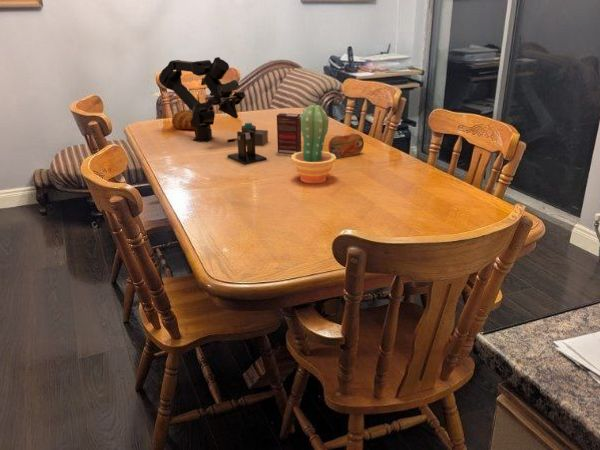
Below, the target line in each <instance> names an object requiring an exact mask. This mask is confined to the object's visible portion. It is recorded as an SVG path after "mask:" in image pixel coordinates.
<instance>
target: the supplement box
mask: <svg viewBox="0 0 600 450" xmlns="http://www.w3.org/2000/svg"><path fill="white" fill-rule="evenodd" d="M300 115H301V113H291V112H289V113H287V112H279V113H278V114H276V138H277V141H276V142H277V155H278V156H279V155H280V156H289V157H291V155H293V154H295V153H297V152H302V131H301V117H299V116H300Z"/></svg>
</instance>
